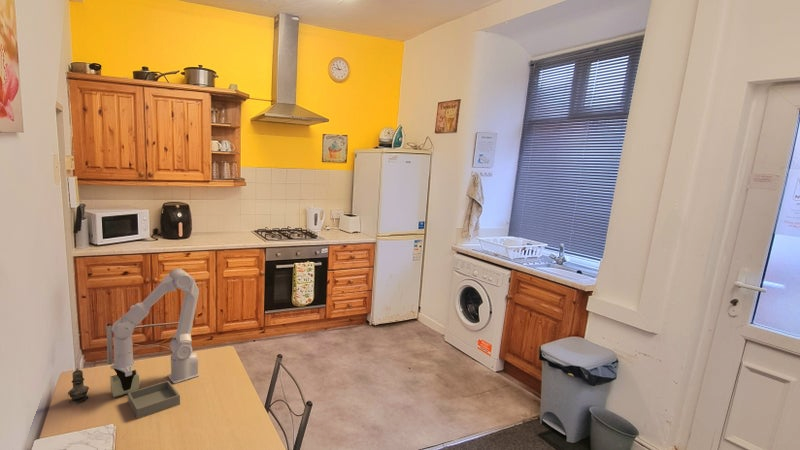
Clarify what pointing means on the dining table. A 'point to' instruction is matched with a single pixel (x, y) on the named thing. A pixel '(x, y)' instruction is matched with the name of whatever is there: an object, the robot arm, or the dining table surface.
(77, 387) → the dark ornate statuette
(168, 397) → the big crate
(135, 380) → the small crate
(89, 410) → the dining table surface
